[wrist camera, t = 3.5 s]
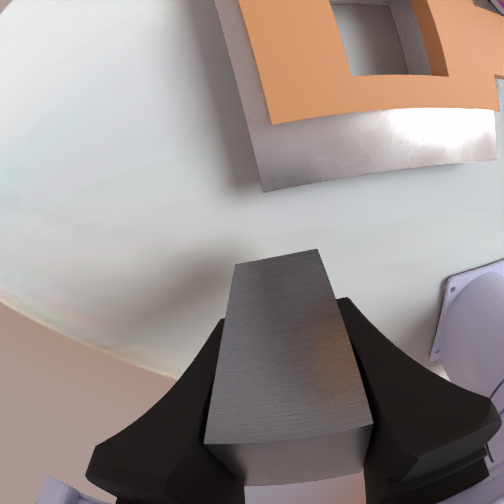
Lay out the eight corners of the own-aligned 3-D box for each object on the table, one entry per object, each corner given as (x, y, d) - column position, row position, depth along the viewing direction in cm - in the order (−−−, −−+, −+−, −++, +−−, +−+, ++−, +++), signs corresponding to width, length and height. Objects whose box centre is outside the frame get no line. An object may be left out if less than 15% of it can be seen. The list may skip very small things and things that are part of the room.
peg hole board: (472, 151, 13) (524, 171, 9) (263, 180, 15) (263, 210, 11) (423, -39, 7) (461, -64, 3) (205, -37, 9) (185, -81, 4)
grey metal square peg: (325, 313, 13) (361, 472, 6) (254, 326, 14) (245, 486, 6) (317, 248, 12) (373, 423, 4) (235, 264, 12) (203, 444, 5)
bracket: (534, 115, 9) (549, 118, 8) (270, 123, 11) (272, 124, 10) (508, 5, 5) (522, 3, 4) (229, -25, 8) (225, -39, 7)
